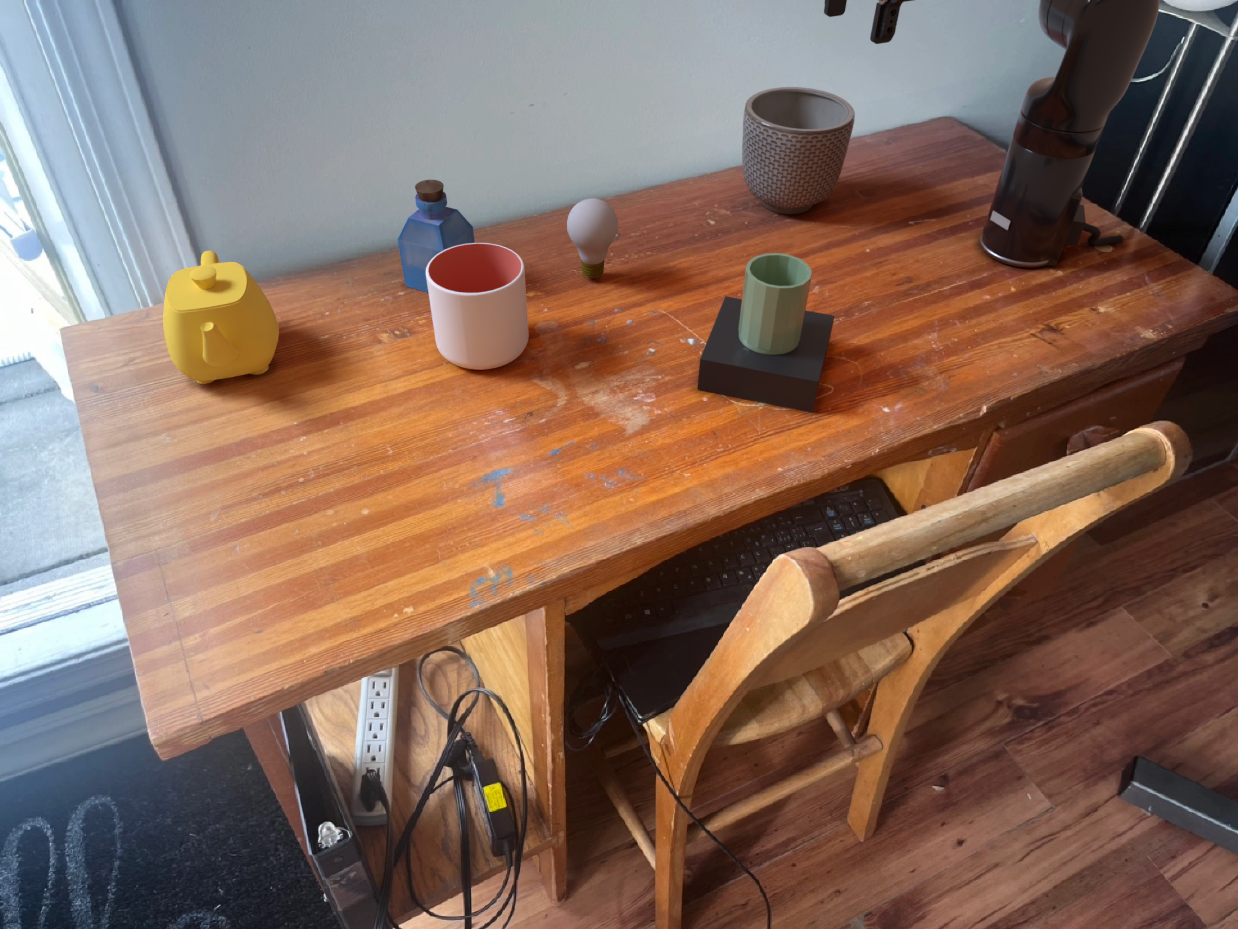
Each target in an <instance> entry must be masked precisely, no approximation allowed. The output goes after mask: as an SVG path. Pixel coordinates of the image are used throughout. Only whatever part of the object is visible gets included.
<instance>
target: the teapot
mask: <svg viewBox="0 0 1238 929" xmlns="http://www.w3.org/2000/svg"><path fill="white" fill-rule="evenodd" d="M162 326H163V335H164V341H165V344H166V349H167V351H168V354H169V357H170V359H171V361H172V363H173V365H174V367H176V369H177V370H178V371H179V372H180V373H182V374H183V375H184V376H185V377H187V378H188V379H191V380H192V381H196V383H198V384H201V385H205V384H206V385H207V384H210V383H213V382H214V381H215V380H222V379H228V378H233V377H240V376H243V375H248V374H250V375H262V374H264V373H265V372H267V371H268V370H269V367H270V366H269V364H270V363H271V362H272V360H273V357H274V355H275V353H276V349H277V346H278V342H279V335H280V331H279V328H280V327H279V322H278V318H277V316H276V314H275V311H274V309H273V307H272V305H271V303H270V301H269V299H268V297H267V296H266V294H265V293H264V291H263V290H262V288H261V287H260V285H259V284H258V282H257V281H256V280H255V279H254V278H253V276H252V275H251V274H250V272H249V271H248V270H247V269H246V268H245V267H244V266H243V265H242V264H241V263H239V262H235V261H224V262H220V259H219V257H218V254H217V253H216V252H215V251H214V250H205V251H204V252H202V254H201V257H200V265H195V266H190V267H186V268H181V269H178V270H176V271H175V272H174V273H173V274H172V275H171V276H170V278H169V279H168V282H167V285H166V289H165V294H164V302H163V312H162Z"/></svg>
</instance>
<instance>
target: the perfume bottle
mask: <svg viewBox="0 0 1238 929" xmlns="http://www.w3.org/2000/svg"><path fill="white" fill-rule="evenodd" d="M444 186H445V184H444V182H442V181H440V180H438V179H423V180H421V181H418V182H417V183H416V184H415V185H414V189H415V191H416V194H415V196H414V201H415V206H416V208H417V210H416V211H415V212H413V213H412V214H411V215H409V216H407V219H406V221H405V223H404V225H403V228H402V230H401V231H400V233H399V236H398V238H397V244H398V250H399V257H400V261H401V268H402V273H403V274H402V275H403V279H404V286H405V287H407V288H411V289H413V290H418V291H421V292H424V293H428V294H429V292H428V286H427V279H426V267H427V265H428V263H429V262H430V260H431V259H432V258H433V257H434V256H436V255H437V254H438V253H440V252H442V251H444V250H446V249H448V248H451V247H454V246H458V245H462V244H469V243H476V241H475V232H474V226H473V225H472V224H471V223H470V222H469V220H467V218H466V217H465V216H464V214H462V213H461V212H460V211H459V209H457V208H453V207H448V206H447V205H448V197H447V193H446V192H445V191H444Z"/></svg>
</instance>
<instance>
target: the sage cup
mask: <svg viewBox="0 0 1238 929" xmlns="http://www.w3.org/2000/svg"><path fill="white" fill-rule="evenodd" d="M812 277H813V271H812V268H811V266H810V265H809V264H808V263H807V262H806V261H805V260H803V259H802V258H799V257H797V256H795V255H792V254H787V253H782V252H769V253H768V252H767V253H763V254H759V255H755V256H754V257H752V258H751V259H750V260H748V262H747V264H746V266H745V270H744V279H743V287H742V288H743V289H742V295H741V299H742V303H741V312H740V320H739V328H738V330H739V332H738V336H739V339H740V341H741V342H742V344H743V345H745V346H746V347H747V348H749V349H750V350H752V351H755V352H758V353H762V354H767V355H779V354H784V353H788V352H790V351H792V350H794V349H795V348H796V347H797V346H798V344H799V342H800V337H801V334H802V328H803V322H804V317H805V311H807V306H808V300H809V294H810V287H811V282H812Z"/></svg>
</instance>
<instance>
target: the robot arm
mask: <svg viewBox="0 0 1238 929" xmlns="http://www.w3.org/2000/svg"><path fill="white" fill-rule="evenodd" d="M912 1H914V0H878V2H876V5H875V10H874V16H873V20H872V26H871V31H870V37H869V39H870V41H871V42H872V43H873V44H875V45H879V44H886V43H890V42H891V41H892V40H893V38H894V36H895V34H896V30H897V25H898V20H899V16H900V10H901V7H902V4H903V3H905V2H906V3H907V2H912ZM1160 1H1161V0H1039V3H1038V16H1037V18H1038V23H1039V26H1040V29H1041V31H1042V33H1043V34H1044V35H1045V36H1046V37H1047V38H1048V39H1049V40H1051V41H1052V42H1054V43H1055V44H1056V45H1058V46H1059V47H1061V48H1062V49H1064V50H1065V51H1064V54H1063V56H1062V59H1061V62H1060V65H1059V67H1058V69H1057V72H1056V74H1055V76H1050V77H1044V78H1040V79H1038V80H1035V81H1034V82H1033V83H1031V84H1030V85H1029V87H1028V89H1027V90H1026V93H1025V95H1024V98H1023V102H1022V105H1021V107H1020V111H1019V114H1018V117H1017V121H1016V124H1015V127H1014V130H1013V133H1012V137H1011V140H1010V142H1009V146H1008V150H1007V152H1006V156H1005V159H1004V162H1003V166H1002V168H1001V172H1000V175H999V178H998V182H997V185H996V188H995V191H994V193H993V197H992V201H991V205H990V208H989V210H988V213H987V217H986V220H985V223H984V226H983V230H982V232H981V234H980V237H979V239H978V240H979V241H978V244H979V248H980V249H981V250H982V252H983V253H984V254H986V256H988V257H990V258H991V259H993V260H995V261H997V262H999V263H1001V264H1005V265H1008V266H1011V267H1016V268H1025V269H1026V268H1027V269H1033V268H1035V269H1036V268H1042V267H1045V266H1048V267H1049V266H1050V267H1056V266H1057V265H1058V263H1059V260H1060V257H1061V255H1062V252H1063V249H1064V247H1065V245H1071V246H1078V244H1079V242H1080V239H1081V237H1082V234H1083V232H1086V233H1089V234H1090V235H1089V236H1088V237H1087V239H1086V240H1087V243H1088V245H1091V246H1093V247H1098V246H1100V247H1101V246H1108V245H1113V244H1121V243H1122V242H1123V241H1124V237H1123V235H1122V234H1119V235H1113V236H1107V237H1106V236H1105V237H1101V233H1102V232H1101V230H1100V229H1099V228H1098V227H1097V226H1095V225H1091V224H1090V223H1087V221H1086V214H1085V213H1086V211H1085V205H1084V204H1081V202H1082V199H1083V195H1084V194H1083V186H1084V185H1083V184H1084V182H1085V179H1086V177H1087V174H1088V171H1089V169H1090V166H1091V163H1092V161H1093V158H1094V155H1095V152H1096V150H1097V147H1098V144H1099V142H1100V139H1101V137H1102V135H1103V131H1104V128H1105V127H1106V124H1107V122H1108V119H1109V116H1110V114H1111V113H1112V111H1113V109H1115V107H1116V106H1117V105H1118V104H1119V103H1120V102H1121V100H1122V98H1123V97H1124V96H1125V94H1126V92H1127V91H1128V89H1129V86H1130V83H1131V81H1132V80H1133V77H1134V74H1135V72H1136V71H1137V68H1138V65H1139V63H1140V61H1141V59H1142V58H1143V57H1142V56H1143V54H1144V53H1145V50H1146V48H1147V45H1148V43H1149V42H1150V38H1151V36H1152V34H1153V31H1154V28H1155V26H1156V23H1157V20H1158V19H1157V18H1158V15H1159V10H1160V6H1161V5H1160V4H1161V2H1160ZM847 2H848V0H824V8H823V14H824V15H825V16H827V17H829V18H833V17H840V16H843V15H844V14H845V12H846V8H847Z"/></svg>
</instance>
